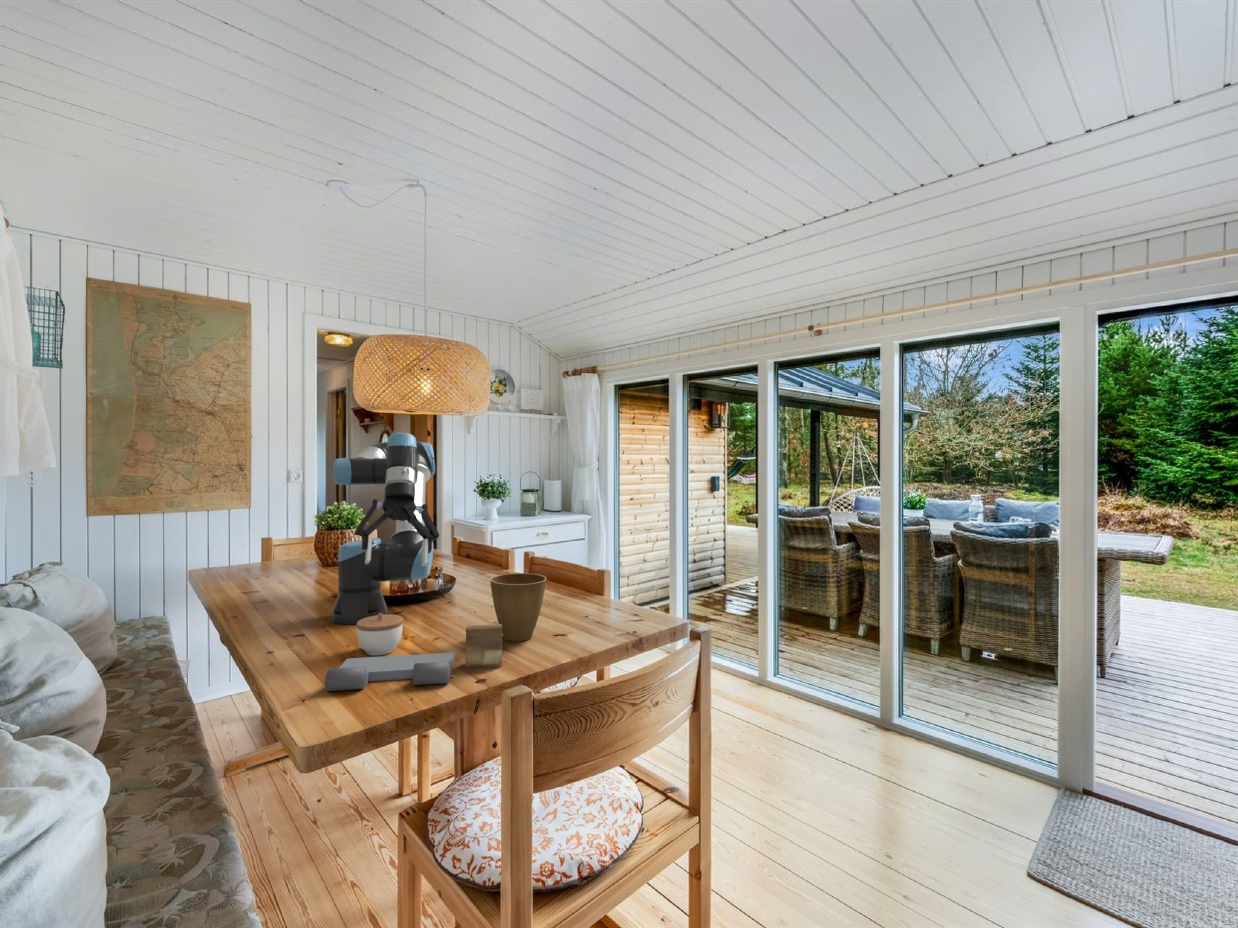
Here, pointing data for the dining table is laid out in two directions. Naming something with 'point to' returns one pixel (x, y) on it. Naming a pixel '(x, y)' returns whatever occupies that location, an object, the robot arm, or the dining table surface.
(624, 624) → the dining table surface
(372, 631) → the lidded jar
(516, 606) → the plant pot
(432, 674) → the grey hinge leaf
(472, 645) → the taupe rectangular chunk
